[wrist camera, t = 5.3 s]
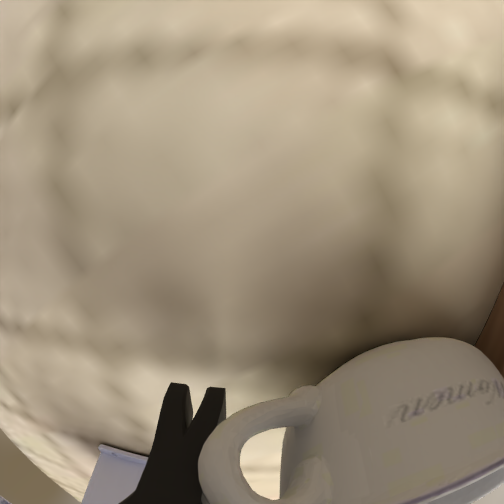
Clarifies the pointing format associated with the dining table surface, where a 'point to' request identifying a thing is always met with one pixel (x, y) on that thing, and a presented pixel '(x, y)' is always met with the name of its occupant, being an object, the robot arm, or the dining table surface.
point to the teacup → (376, 432)
